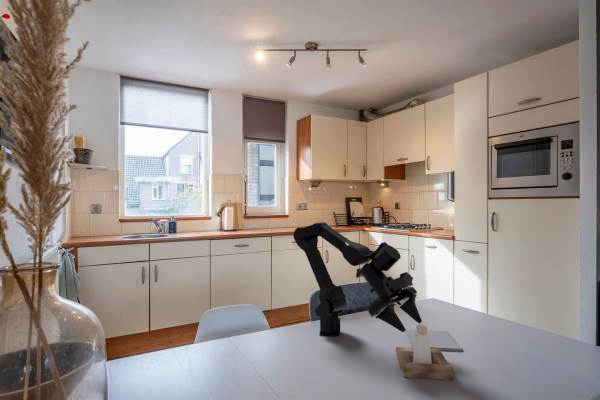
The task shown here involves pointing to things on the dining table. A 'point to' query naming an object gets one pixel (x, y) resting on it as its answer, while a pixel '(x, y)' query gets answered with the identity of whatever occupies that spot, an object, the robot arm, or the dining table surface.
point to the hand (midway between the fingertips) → (412, 326)
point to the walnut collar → (424, 365)
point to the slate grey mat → (437, 340)
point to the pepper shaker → (422, 346)
